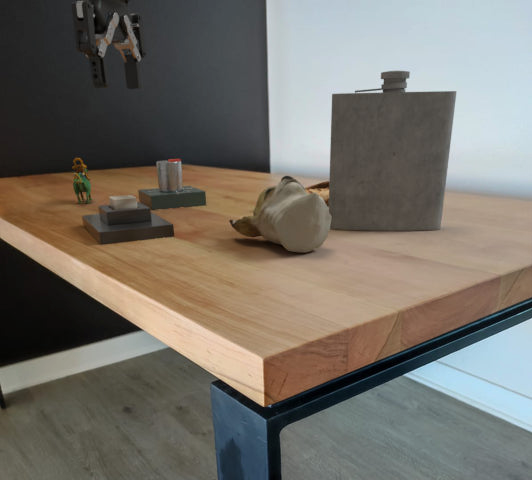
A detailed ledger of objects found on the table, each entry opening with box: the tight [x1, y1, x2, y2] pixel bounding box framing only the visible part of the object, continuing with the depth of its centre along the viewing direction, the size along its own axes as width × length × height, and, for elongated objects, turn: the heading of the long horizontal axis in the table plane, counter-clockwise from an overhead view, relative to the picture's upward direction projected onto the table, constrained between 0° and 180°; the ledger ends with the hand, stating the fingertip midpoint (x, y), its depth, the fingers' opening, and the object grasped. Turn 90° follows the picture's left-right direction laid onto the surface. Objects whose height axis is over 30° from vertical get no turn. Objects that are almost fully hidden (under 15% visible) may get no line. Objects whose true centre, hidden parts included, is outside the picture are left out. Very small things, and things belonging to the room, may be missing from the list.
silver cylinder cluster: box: [155, 158, 184, 192], centre depth 98 cm, size 4×4×5 cm
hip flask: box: [328, 70, 457, 232], centre depth 74 cm, size 16×4×20 cm, turn 83°
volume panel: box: [137, 185, 207, 211], centre depth 100 cm, size 10×9×3 cm
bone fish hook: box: [304, 180, 329, 206], centre depth 96 cm, size 9×5×18 cm
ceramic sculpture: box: [228, 175, 331, 254], centre depth 68 cm, size 11×9×15 cm
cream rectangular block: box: [108, 194, 138, 210], centre depth 77 cm, size 3×3×2 cm
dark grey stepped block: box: [81, 201, 175, 246], centre depth 78 cm, size 10×14×4 cm
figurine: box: [71, 157, 94, 204], centre depth 102 cm, size 3×12×8 cm, turn 7°
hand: (118, 88), depth 82 cm, fingers open, 8 cm apart
